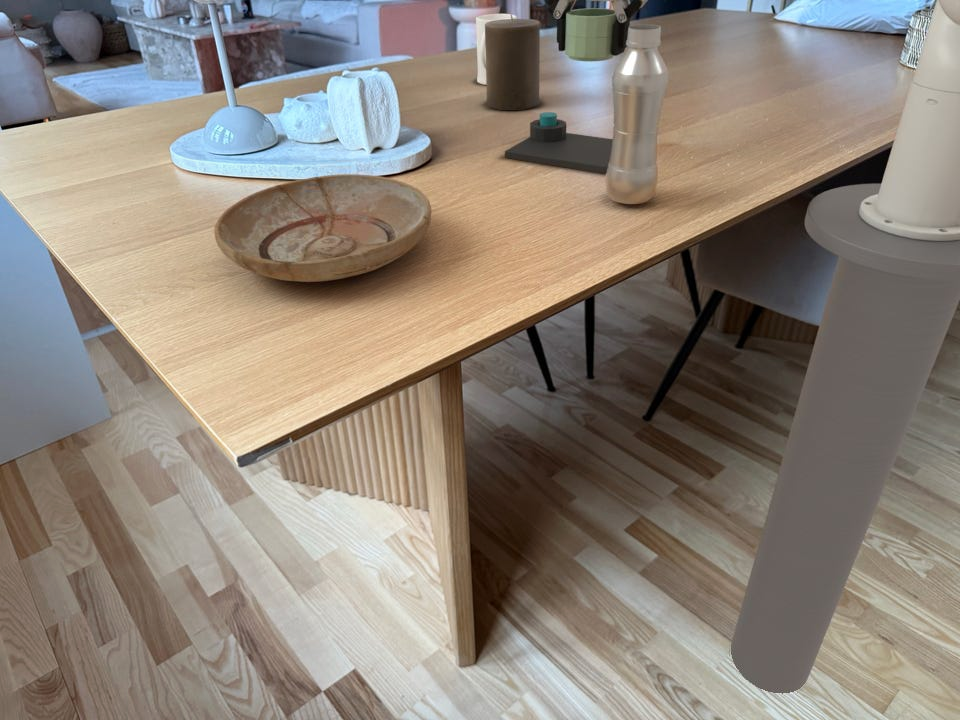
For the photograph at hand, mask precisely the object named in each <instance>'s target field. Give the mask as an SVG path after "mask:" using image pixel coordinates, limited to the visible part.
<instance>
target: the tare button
mask: <svg viewBox="0 0 960 720" xmlns="http://www.w3.org/2000/svg"><path fill="white" fill-rule="evenodd" d="M539 119H540V126H545V127H550V126H556V125H557V119H558V113H556V112H551V111H546V112H541V113H540V114H539Z"/></svg>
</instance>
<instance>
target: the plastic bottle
mask: <svg viewBox="0 0 960 720" xmlns="http://www.w3.org/2000/svg"><path fill="white" fill-rule="evenodd" d="M661 35H662V26H661V25H657V24H650V23H649V24H647V23H646V24H643V23H642V24H641V23H640V24H633V25H630V26H629V28H628V37H627V40H626V45H627V47H628V48H627V51H626V52H625V54H624V55H623V56H622V58H621V59H620V60H619V62H618V64H617V65H616V67H615V68H614V71H613V75H612V77H611V79H612V80H611V81H612V83H611V85H612V86H611V87H612V101H613V102H612V103H613V130H612V131H613V134H612V135H613V136H612V139H613V142H612V148H611V155H610V162H609V164H608V168H607V172H606V173H605V178H604V186H605V192H606V194H607V195H608V197H609V198H610V200H611V201H614V202H616V203H619V204H625V205H638V204H639V205H640V204H643V203H647V202H648V201H650V200H651V199H652V198H653V196H654V195H655V193H656V190H657V187H658V182H659V178H658V177H659V172H658V171H659V169H658V163H657V157H658V155H657V154H658V153H657V152H658V133H659V125H660V119H661V113H662V109H663V105H664V100H665V96H666V93H667V87H668V85H669V84H668V83H669V72H668V68H667V66H666V63H665V60H663V57H662V56H661V54H660V52H659V49H658V47H660V46H661V43H662V42H661V41H662V39H661Z"/></svg>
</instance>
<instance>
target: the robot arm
mask: <svg viewBox="0 0 960 720" xmlns="http://www.w3.org/2000/svg"><path fill="white" fill-rule="evenodd" d="M588 1H590V2H591V1H593V2H610V3H611V6H612V9H614V11H615V14H616V17H617V22H615V23H614V24H613V30H612V45H611V54H612V55H613V57H617V56H619V55H621V54H623V53H625V50H626V48H627V47H628V46H627V45H626V40H627V37H628V28H629V26H631V24H630V23H631V20H632V19H634V17H635V16H636V14H637V13H639V12H640V11H641V10H642V9H643V8H644V6H645V4H646V3H647V2H648V1H649V0H632V1H630V0H587V2H588ZM576 2H577V0H545V3H546V5H547V6H548V8H549V9H550V10H551V12H552V13H553V17H554V18H555V19H556V43H557V44H558V46H557V48H558V51H559V52H565V38H566V13H567V12H568V11H571V10H573V8H574V6H575V4H576ZM905 99H906V100H905V103H904V106H903V109H902V113H901V116H900V120H899V123H898V126H897V130H896V133H895V137H894V140H893V143H892V147H891V150H890V154H889V157H888V160H887V163H886V167H885V170H884V173H883V177H882V181H881V183H880V184H881V187H880V190H879V194H876V195H873V196H870V197H868V198H866V199H864V200H863V201H862V202H861V206H860V209H859V215H860V216H861V218H862V219H863V220H864V221H865V222H866V223H868V224H869V225H871V226H872V227H875V228H877V229H879V230H881V231H884V232H887V233H890V234H893V235H897V236H901V237H905V238H910V239H917V240H925V241H956V240H960V0H936V1H935V5H934V9H933V12H932V15H931V18H930V21H929V25H928V28H927V32H926V35H925V38H924V41H923V43H922V48H921V51H920V54H919V57H918V61H917V63H916V67H915V71H914V73H913V77H912V79H911V82H910V86H909V90H908V92H907V96H906V98H905Z"/></svg>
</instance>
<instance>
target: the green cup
mask: <svg viewBox="0 0 960 720" xmlns="http://www.w3.org/2000/svg"><path fill="white" fill-rule="evenodd" d="M615 22H617V17H616V14H615V11H614V9H613V8H602V7H598V8H596V7H591V8H590V7H588V8H587V7H586V8H578V9H572V10H571V11H568V12H567V13H566V38H565V51H564V54H565V55H566V56H568V59H570V60H572V61H578V62H602V61H603V62H605V61H609V60H611V59H613V58H614V56H613V55H612V54H611V45H612V30H613V24H614V23H615Z"/></svg>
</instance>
